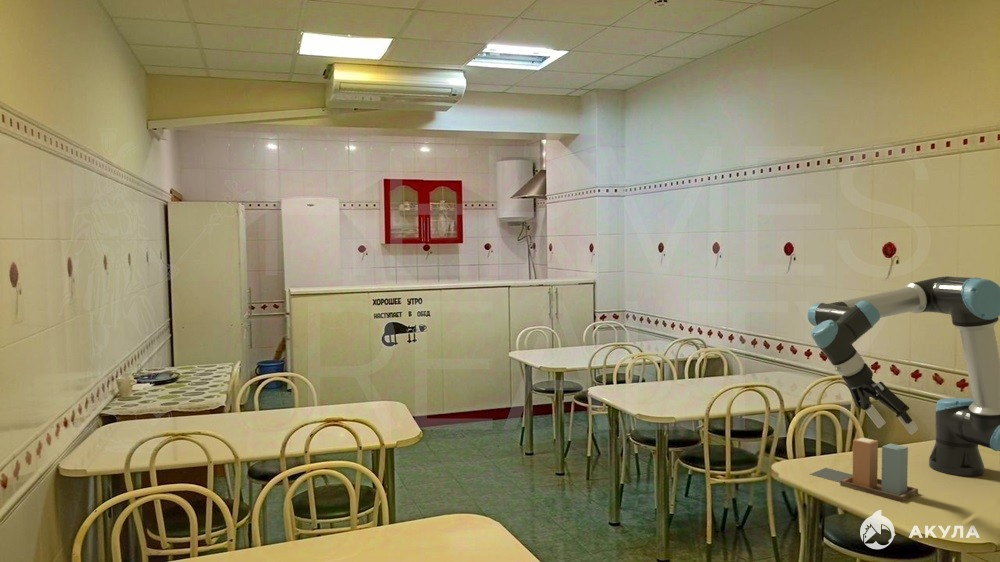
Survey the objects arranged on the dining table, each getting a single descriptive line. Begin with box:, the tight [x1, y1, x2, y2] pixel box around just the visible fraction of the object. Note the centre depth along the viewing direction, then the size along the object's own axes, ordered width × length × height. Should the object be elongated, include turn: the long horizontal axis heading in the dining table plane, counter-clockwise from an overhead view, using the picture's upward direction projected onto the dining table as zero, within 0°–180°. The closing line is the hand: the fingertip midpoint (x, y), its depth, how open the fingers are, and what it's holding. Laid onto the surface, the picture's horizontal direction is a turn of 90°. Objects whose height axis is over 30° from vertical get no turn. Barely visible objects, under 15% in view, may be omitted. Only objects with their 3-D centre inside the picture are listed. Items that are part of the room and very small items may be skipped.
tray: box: [839, 476, 919, 503], centre depth 210 cm, size 11×18×2 cm, turn 37°
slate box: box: [881, 443, 909, 496], centre depth 206 cm, size 5×5×14 cm
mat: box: [809, 467, 853, 484], centre depth 223 cm, size 10×10×1 cm
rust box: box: [852, 436, 879, 488], centre depth 213 cm, size 5×5×14 cm
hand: (897, 428), depth 201 cm, fingers open, 13 cm apart
